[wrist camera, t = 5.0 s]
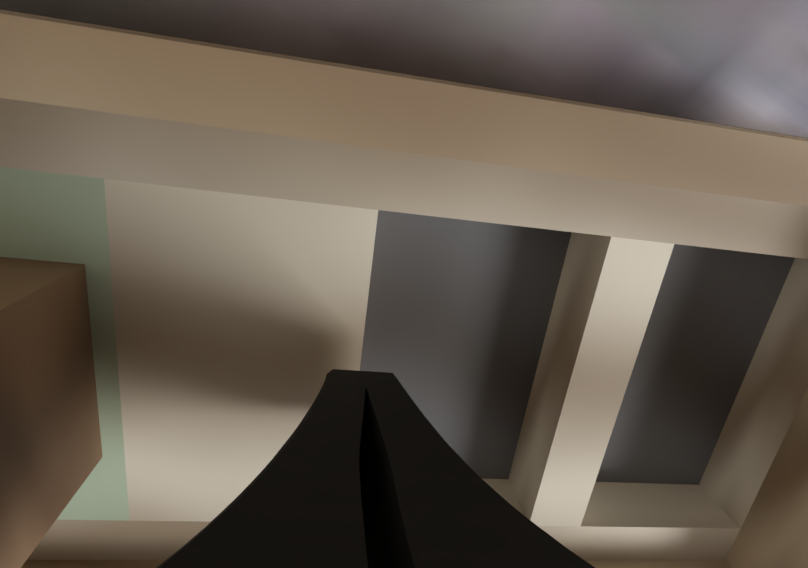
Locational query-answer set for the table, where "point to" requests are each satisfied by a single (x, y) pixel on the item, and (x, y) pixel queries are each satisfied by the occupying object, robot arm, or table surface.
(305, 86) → the box
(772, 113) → the table surface
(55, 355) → the walnut block
